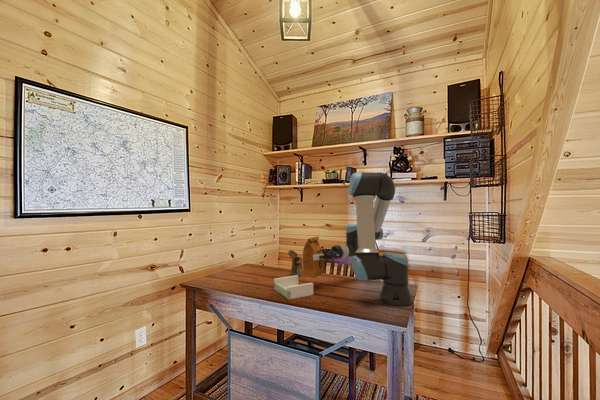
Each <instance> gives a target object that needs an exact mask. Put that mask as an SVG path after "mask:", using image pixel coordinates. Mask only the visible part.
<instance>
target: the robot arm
mask: <svg viewBox="0 0 600 400" xmlns="http://www.w3.org/2000/svg"><path fill="white" fill-rule="evenodd" d="M348 194H349V196H352V200H353V201H354V202H355V210H356V211H355V212H356V224H355V223H354V224H353V223H352V224H351V223H349V224H347V225H346V228H345V229H346V230H345V236H346V237H345V239H346V240H345V241H346V242H345V244H337V245H332V247H331V248H321V249H322V251H323V254H318V255H313V260H320V259H324V260H327V261H328V260H329V261H330V260H332V259H334V260H335V259H344V258H348V257H352V258H351V265H352V270H353V274H354V276H355V278H356V279H357V280H360V281H382V287H381V290H380V292H379V300H380V302H382V303H383V304H385V305H390V306H395V307H397V306H398V307H405V306H410V305H411V304H412V303H413V297H412V295H411V292H410V288H409V260H408V259H409V258H408V257H407V256H406V255H404V254H402V253H401V254H400V253H397V252H390V251H384V252H383V253H382V255H380V251H379V250H378V249H377V247H376V241H377V240H382V239H383V238H384V230H383V228H382V227H383V224H384V221H385V218H386V215H387V212H388V209H389V207H390V206H389V205H390V203H391V201H392V200H393V199H394V198H395V194H396V185H395V183H394V180H393V179H392V177H391V176H390V175H389V174H387V173H385V172H382V171H381V172H373V171H372V172H367V171H365V172H364V171H360V172H354V173H352V174H351V175H350V180H349V183H348ZM374 200H375V201H374ZM301 253H302V257H303V250H302V252H301Z"/></svg>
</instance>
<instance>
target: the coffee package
mask: <svg viewBox="0 0 600 400" xmlns="http://www.w3.org/2000/svg"><path fill="white" fill-rule="evenodd" d="M318 240H320V237H319V236H318V235H317V236H314V237H309V238H308V239H307V241H306V242H305V244H304V245H303V250H302V251H303V256H302V267H303V276H302V277H303V278H310V279H312V278H313V279H314V278H317V277H319V276H322V275H323V274H324V273H325V264H324V263H325V258H324V259H320V260H313V255H318V254H323V251H322V249H323V248H322V247H321V246H320V242H319V241H318Z"/></svg>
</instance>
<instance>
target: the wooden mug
mask: <svg viewBox="0 0 600 400" xmlns="http://www.w3.org/2000/svg"><path fill="white" fill-rule="evenodd" d="M287 253H288V254H287V255H289V257H290V258H291V268H290V273H289V274H290V275H289V276H295V275H298V277H303V257H300V256H299V257H298V253H297V252H296V251H294V250H293V249H290V250H289V251H288V252H287Z"/></svg>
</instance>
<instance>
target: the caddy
mask: <svg viewBox="0 0 600 400" xmlns="http://www.w3.org/2000/svg"><path fill="white" fill-rule="evenodd" d="M273 290H274V291H275V292H276V293H278V294H279V295H281V296H283V297H284V298H285V299H286V300H287V301H288V300H294V299H298V298H304V297H308V296H314V282H308V283H301V284H299V276H298V275H295V276H291V275H288V276H281V277H278V278H277V277H276V278H273Z"/></svg>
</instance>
